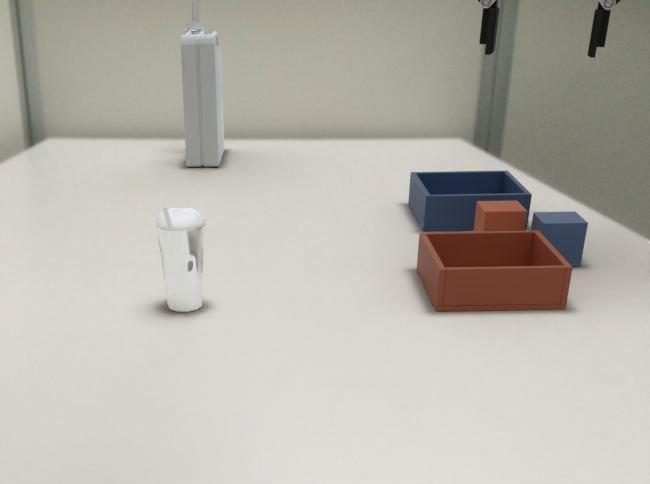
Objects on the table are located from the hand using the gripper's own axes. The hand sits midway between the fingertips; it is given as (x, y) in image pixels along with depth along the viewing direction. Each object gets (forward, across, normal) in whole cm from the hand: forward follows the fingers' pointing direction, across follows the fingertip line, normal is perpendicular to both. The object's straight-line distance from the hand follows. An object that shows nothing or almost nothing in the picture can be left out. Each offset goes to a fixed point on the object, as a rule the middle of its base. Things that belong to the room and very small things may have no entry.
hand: (539, 54), depth 94 cm
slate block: (+20, -4, +1) cm, 20 cm away
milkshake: (+20, +29, +24) cm, 43 cm away
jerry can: (+20, +49, -40) cm, 67 cm away
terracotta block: (+20, +2, -3) cm, 20 cm away
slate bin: (+20, +7, -15) cm, 26 cm away
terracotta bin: (+20, +2, +12) cm, 23 cm away
